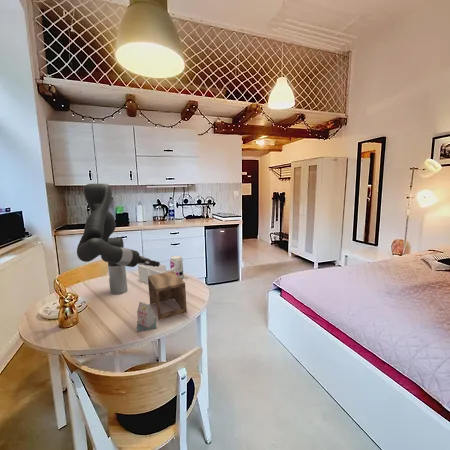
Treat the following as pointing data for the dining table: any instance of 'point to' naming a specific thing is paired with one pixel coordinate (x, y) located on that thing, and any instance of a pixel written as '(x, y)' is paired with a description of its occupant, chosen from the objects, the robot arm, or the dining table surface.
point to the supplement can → (177, 265)
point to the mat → (143, 328)
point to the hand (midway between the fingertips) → (153, 262)
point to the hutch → (167, 292)
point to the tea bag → (145, 315)
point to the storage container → (151, 271)
